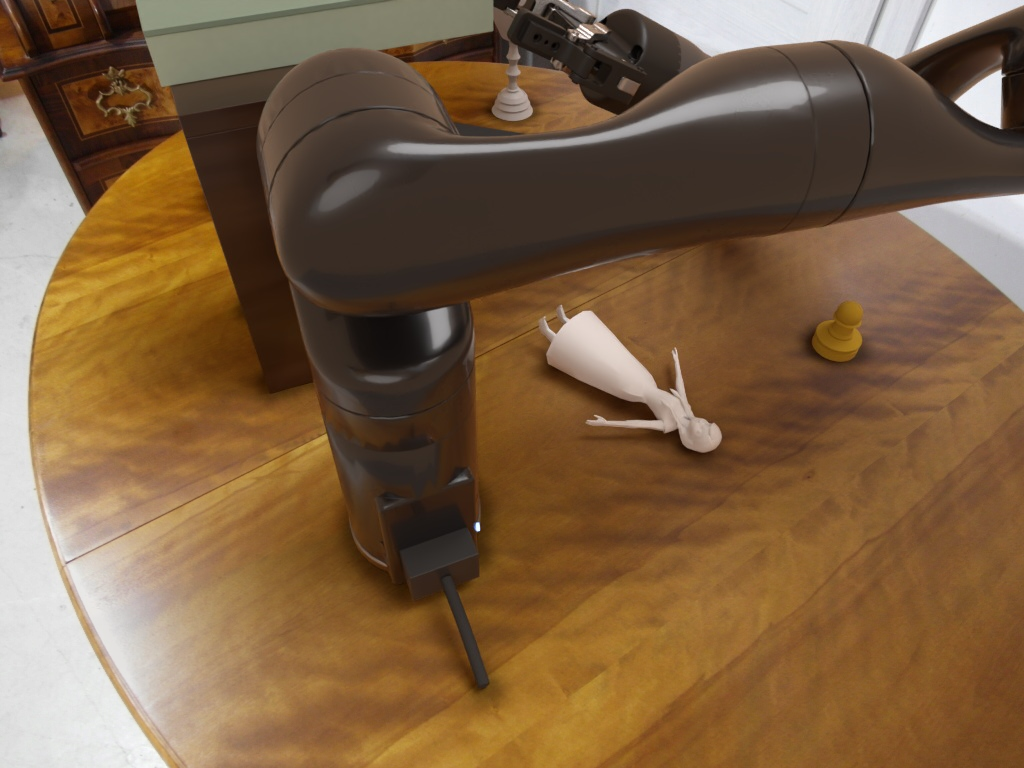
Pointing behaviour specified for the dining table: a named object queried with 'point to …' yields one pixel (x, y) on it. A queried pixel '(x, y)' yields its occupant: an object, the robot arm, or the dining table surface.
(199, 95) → the tall wooden pillar
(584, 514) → the dining table surface
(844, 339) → the chess piece
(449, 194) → the robot arm
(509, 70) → the chalice
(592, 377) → the woman figurine
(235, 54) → the storage box
